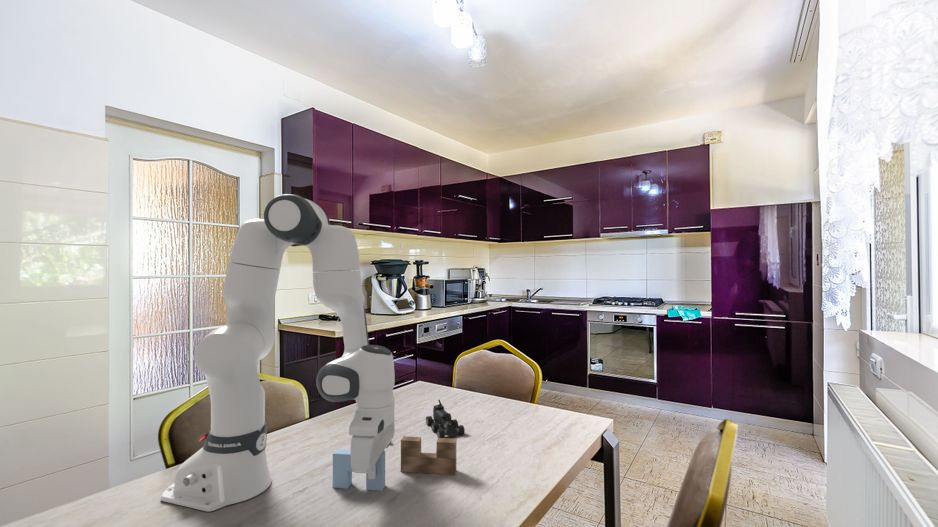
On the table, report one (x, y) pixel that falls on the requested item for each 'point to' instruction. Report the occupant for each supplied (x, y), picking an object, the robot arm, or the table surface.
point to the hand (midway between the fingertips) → (375, 473)
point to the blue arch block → (344, 471)
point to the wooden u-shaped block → (428, 456)
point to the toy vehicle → (443, 423)
